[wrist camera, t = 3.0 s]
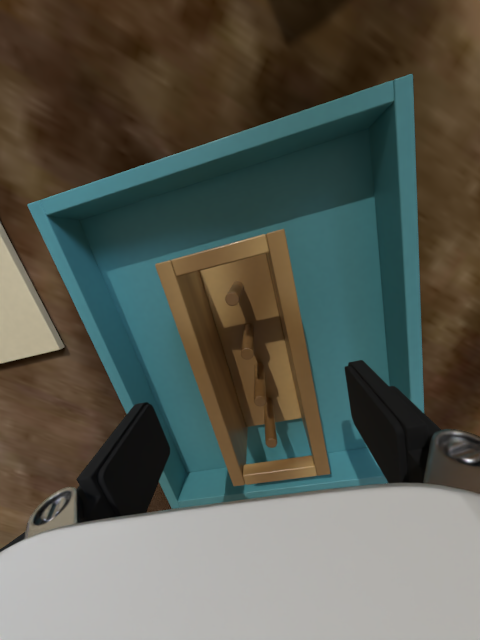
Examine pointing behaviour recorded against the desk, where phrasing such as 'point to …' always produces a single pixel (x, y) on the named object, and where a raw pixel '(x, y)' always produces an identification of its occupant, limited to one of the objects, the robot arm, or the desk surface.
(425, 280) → the desk surface
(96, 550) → the robot arm
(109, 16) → the desk surface
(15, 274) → the mat
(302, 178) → the teal tray
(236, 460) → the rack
